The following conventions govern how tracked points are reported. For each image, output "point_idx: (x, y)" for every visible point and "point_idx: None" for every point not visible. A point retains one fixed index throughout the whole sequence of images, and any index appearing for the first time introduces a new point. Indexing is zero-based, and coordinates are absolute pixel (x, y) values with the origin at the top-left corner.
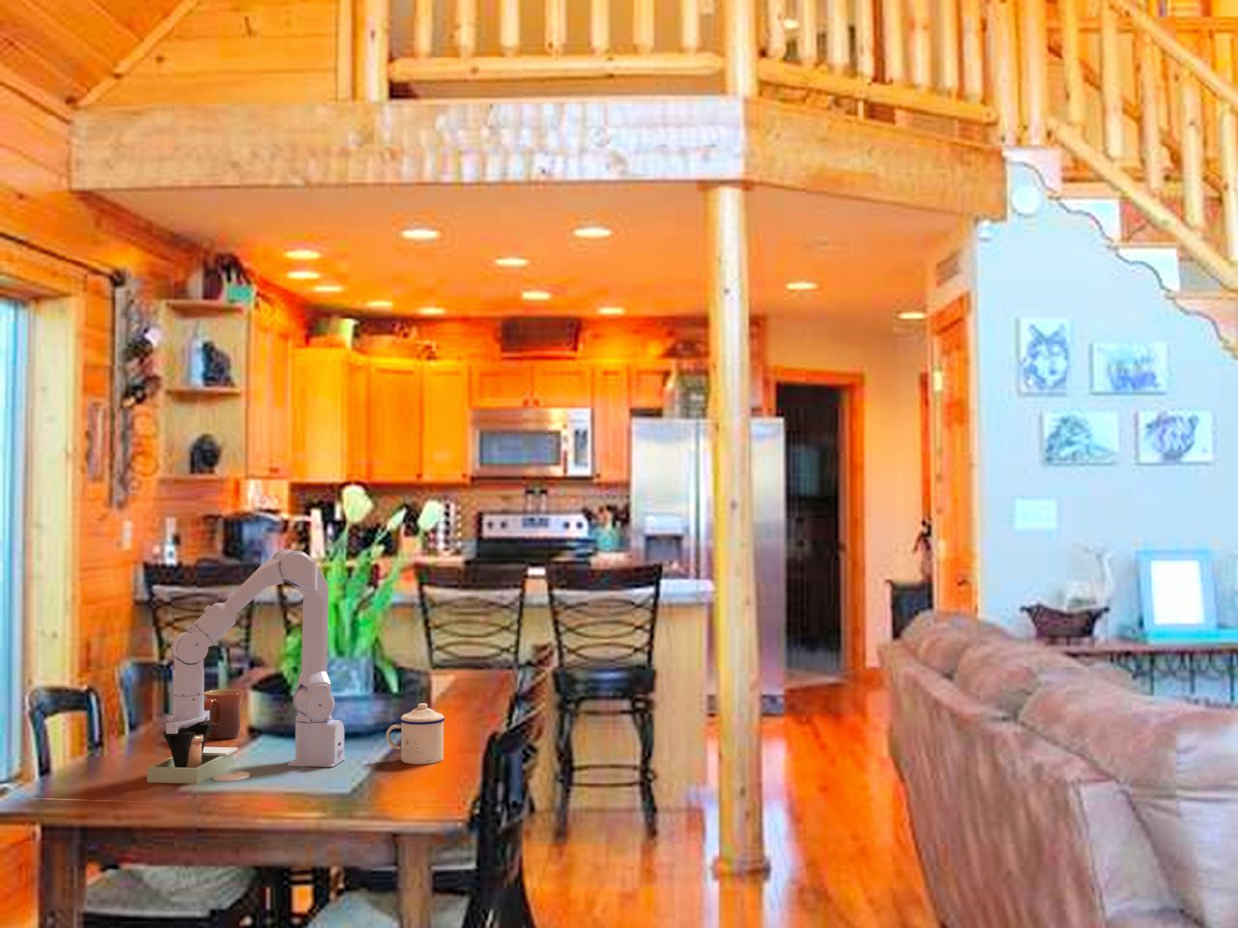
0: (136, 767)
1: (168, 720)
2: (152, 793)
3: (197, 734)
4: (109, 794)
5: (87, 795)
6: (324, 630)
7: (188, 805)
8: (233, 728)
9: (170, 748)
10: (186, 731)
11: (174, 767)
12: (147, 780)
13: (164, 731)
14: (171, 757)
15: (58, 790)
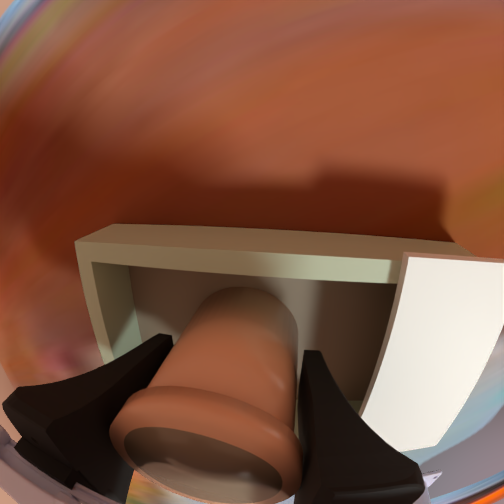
0: (405, 35)
1: (56, 501)
2: (44, 291)
3: (260, 497)
4: (14, 181)
5: (5, 130)
6: None
7: (32, 377)
8: None
9: (89, 373)
10: (101, 493)
11: (109, 349)
12: (107, 227)
13: (9, 408)
14: (318, 263)
15: (44, 19)
